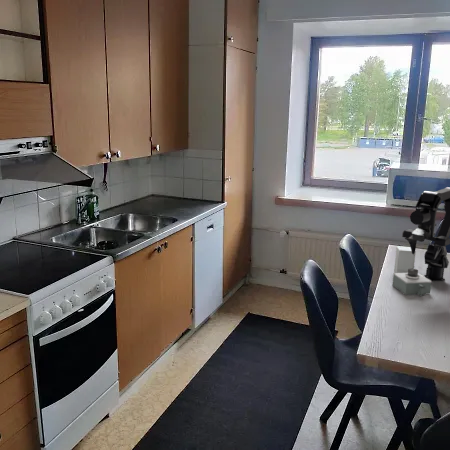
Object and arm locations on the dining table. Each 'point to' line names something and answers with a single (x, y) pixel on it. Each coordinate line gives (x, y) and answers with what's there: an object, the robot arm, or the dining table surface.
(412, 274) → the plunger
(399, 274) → the pale grey box
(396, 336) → the dining table surface
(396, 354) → the dining table surface
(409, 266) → the supplement box
